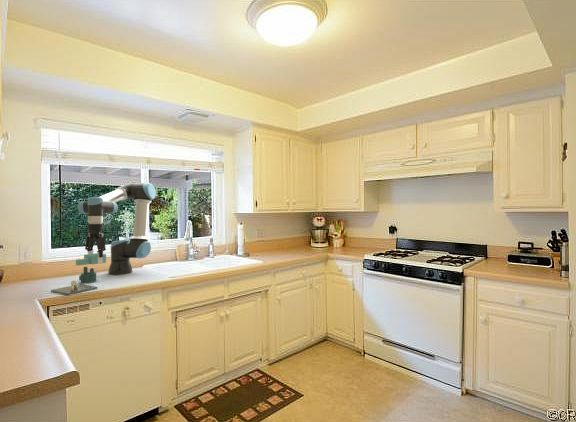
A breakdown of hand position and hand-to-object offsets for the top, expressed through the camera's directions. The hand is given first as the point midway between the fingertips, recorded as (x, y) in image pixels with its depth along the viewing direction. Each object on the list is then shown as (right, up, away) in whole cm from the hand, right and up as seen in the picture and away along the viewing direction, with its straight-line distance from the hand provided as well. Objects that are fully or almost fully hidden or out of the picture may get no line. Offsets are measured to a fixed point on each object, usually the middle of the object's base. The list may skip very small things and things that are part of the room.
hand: (95, 262), depth 187 cm
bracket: (-12, -14, +13) cm, 23 cm away
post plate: (-7, -14, -8) cm, 17 cm away
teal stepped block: (-1, 0, -3) cm, 3 cm away
